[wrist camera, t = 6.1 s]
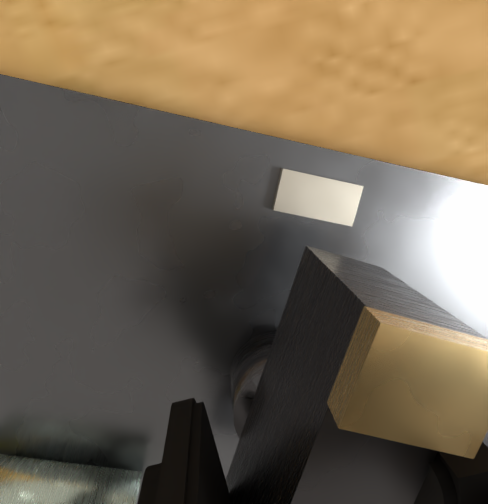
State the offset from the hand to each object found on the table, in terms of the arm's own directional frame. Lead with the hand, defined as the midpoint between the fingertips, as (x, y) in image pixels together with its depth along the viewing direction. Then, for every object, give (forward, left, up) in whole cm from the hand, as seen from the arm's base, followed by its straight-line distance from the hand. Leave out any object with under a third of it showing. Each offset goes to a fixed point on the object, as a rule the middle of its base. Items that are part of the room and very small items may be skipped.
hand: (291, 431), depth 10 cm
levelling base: (0, 0, -6) cm, 6 cm away
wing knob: (0, 0, -3) cm, 3 cm away
